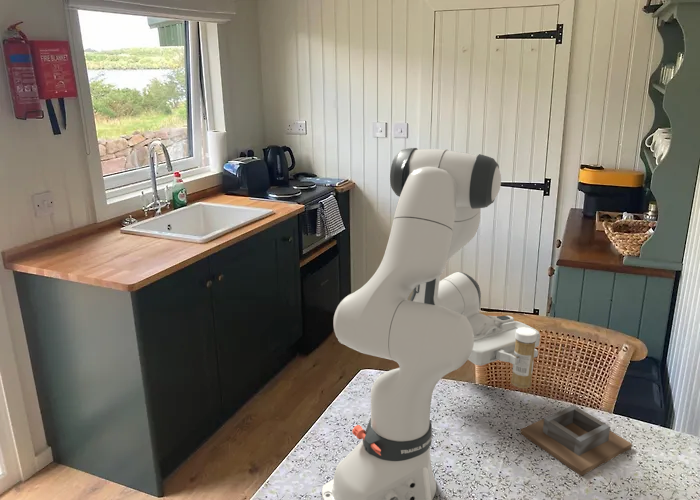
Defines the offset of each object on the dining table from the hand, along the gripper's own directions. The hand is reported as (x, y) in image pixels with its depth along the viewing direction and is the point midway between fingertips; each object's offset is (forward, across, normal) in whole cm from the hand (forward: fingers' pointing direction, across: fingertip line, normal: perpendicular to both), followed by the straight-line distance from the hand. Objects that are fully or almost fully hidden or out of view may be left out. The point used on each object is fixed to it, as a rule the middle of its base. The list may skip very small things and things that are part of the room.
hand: (526, 357), depth 129 cm
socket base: (+13, +3, +15) cm, 20 cm away
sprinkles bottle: (-1, 0, +7) cm, 7 cm away
